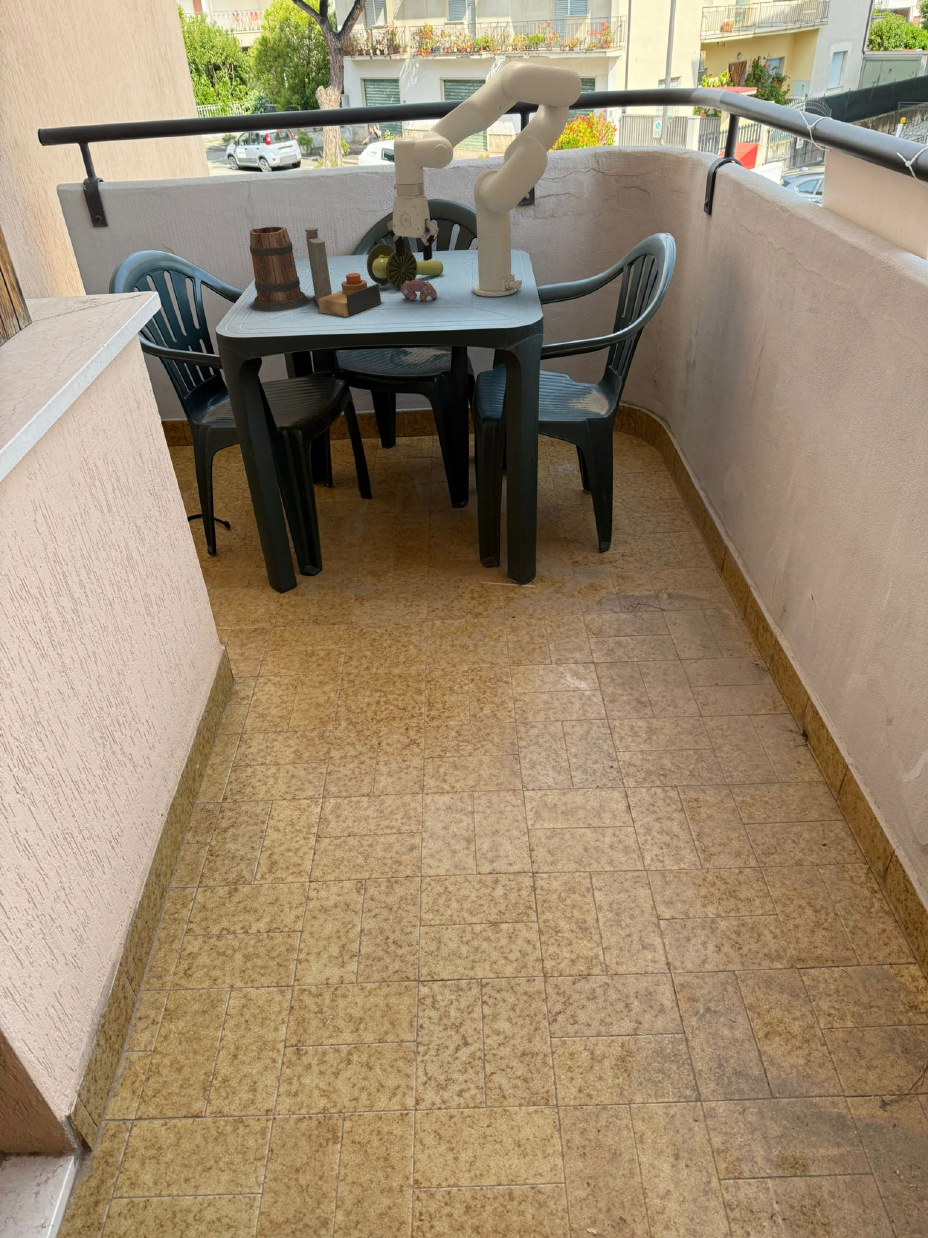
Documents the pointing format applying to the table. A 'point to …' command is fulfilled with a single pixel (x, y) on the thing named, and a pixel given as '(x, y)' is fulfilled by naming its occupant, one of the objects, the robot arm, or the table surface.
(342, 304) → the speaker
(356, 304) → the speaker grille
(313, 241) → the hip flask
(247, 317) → the table surface
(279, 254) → the tankard
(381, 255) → the cannon
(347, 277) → the power button
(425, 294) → the pink lumpy mass
